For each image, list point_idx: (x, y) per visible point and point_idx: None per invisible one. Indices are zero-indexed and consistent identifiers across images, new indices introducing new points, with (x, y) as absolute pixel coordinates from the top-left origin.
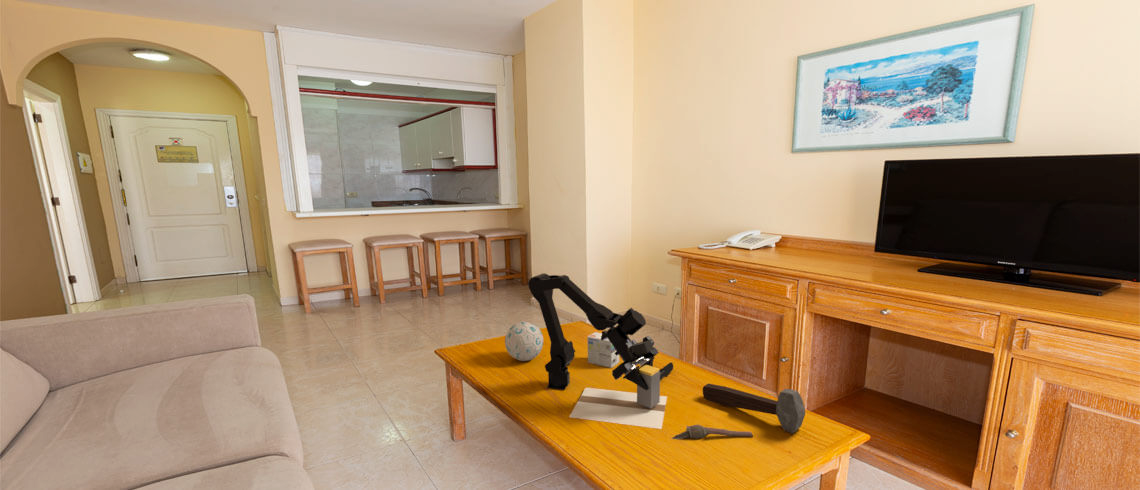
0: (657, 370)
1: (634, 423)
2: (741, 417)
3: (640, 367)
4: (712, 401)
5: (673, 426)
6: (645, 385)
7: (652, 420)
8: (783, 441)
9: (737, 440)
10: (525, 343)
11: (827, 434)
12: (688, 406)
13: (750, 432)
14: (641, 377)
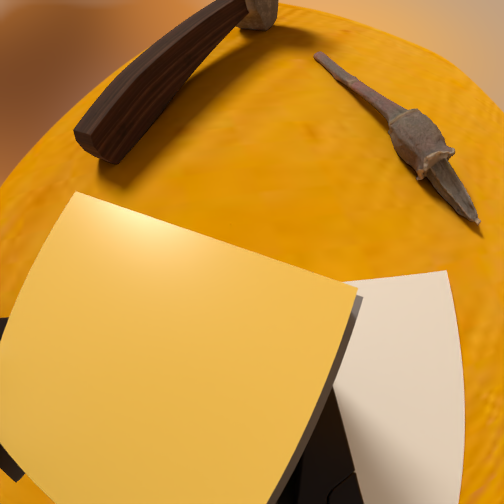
0: (119, 213)
1: (450, 404)
2: (225, 75)
3: (7, 469)
4: (136, 139)
5: (379, 234)
6: (334, 404)
7: (397, 329)
8: (311, 32)
9: (358, 78)
10: None
11: None
12: (177, 201)
13: (321, 52)
14: (330, 486)
